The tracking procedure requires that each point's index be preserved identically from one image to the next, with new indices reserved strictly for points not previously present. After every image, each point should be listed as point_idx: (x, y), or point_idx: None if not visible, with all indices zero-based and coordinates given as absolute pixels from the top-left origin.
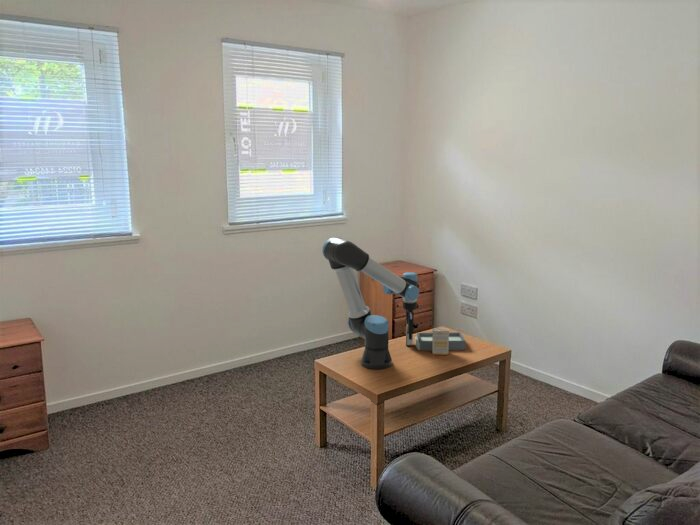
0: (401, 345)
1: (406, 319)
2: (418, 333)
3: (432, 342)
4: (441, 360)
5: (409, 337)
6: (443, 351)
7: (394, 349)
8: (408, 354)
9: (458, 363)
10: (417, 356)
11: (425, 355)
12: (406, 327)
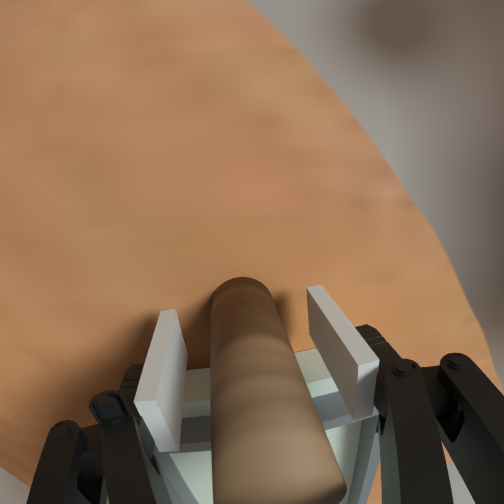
0: (242, 230)
1: (496, 443)
2: (368, 416)
3: (108, 502)
4: None
5: (122, 386)
6: None
7: (113, 168)
8: (35, 305)
9: None
10: (28, 363)
11: (66, 409)
12: (253, 432)
